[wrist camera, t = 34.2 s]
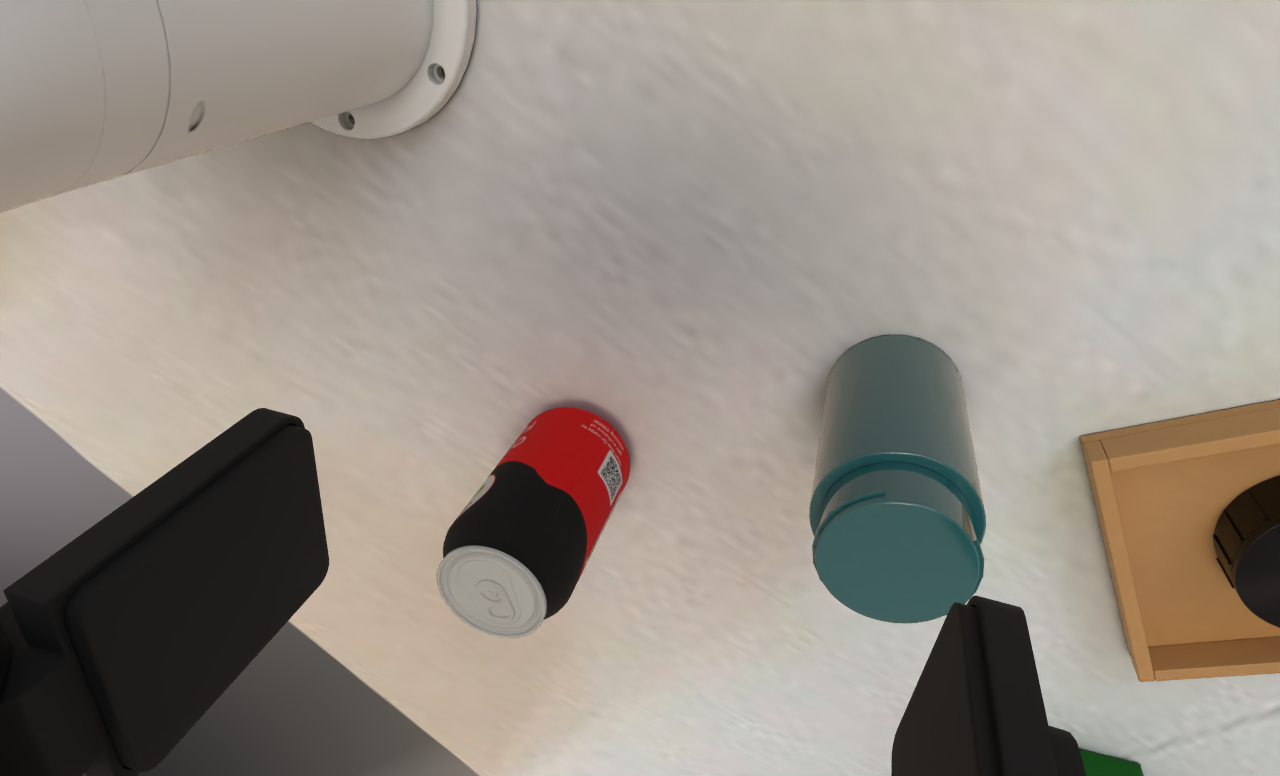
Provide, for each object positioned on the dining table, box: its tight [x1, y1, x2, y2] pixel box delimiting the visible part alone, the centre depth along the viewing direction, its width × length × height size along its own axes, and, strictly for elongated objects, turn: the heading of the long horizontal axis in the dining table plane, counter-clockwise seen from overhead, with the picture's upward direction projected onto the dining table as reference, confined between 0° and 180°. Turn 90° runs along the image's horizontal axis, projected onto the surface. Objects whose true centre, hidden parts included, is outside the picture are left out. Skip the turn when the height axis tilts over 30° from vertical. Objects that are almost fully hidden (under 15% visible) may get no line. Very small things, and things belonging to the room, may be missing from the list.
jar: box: [809, 335, 986, 623], centre depth 32 cm, size 6×6×12 cm
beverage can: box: [437, 407, 630, 638], centre depth 38 cm, size 6×6×12 cm
